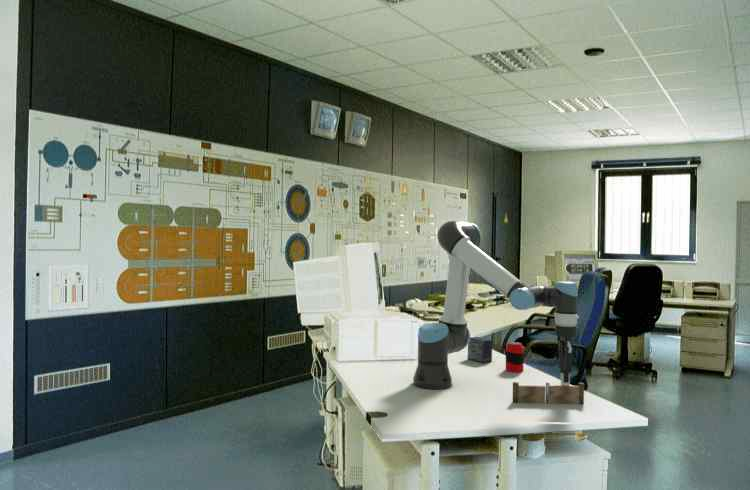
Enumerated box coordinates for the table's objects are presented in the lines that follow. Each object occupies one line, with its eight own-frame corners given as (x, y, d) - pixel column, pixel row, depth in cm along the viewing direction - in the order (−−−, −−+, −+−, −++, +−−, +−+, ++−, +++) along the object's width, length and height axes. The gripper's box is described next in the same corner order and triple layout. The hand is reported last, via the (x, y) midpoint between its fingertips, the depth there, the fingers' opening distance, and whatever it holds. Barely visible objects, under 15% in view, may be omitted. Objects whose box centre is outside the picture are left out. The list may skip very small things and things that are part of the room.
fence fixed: (513, 403, 192) (513, 383, 192) (511, 401, 194) (512, 381, 194) (545, 404, 192) (545, 384, 191) (543, 402, 194) (544, 382, 193)
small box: (492, 361, 259) (493, 339, 259) (482, 363, 256) (483, 340, 255) (476, 357, 268) (477, 336, 268) (466, 359, 264) (467, 337, 264)
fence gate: (546, 403, 192) (546, 383, 192) (544, 402, 193) (545, 382, 193) (584, 404, 191) (584, 384, 191) (582, 402, 193) (583, 382, 193)
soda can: (507, 367, 247) (507, 341, 247) (524, 369, 245) (524, 342, 244) (504, 371, 240) (504, 344, 240) (522, 373, 238) (522, 345, 237)
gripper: (582, 328, 191) (580, 395, 191) (571, 322, 204) (570, 386, 204) (559, 327, 192) (558, 395, 192) (551, 321, 205) (550, 385, 205)
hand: (565, 390), depth 198 cm, fingers closed
